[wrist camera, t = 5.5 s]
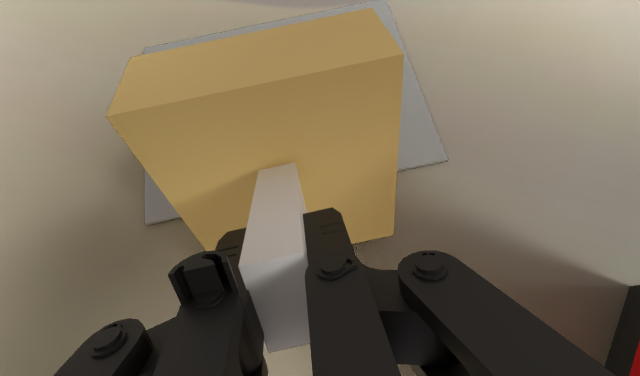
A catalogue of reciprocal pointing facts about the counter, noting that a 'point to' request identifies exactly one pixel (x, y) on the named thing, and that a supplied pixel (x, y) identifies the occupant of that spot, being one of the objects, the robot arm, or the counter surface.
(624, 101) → the counter surface
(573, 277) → the counter surface
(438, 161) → the mat
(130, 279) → the counter surface
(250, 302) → the robot arm
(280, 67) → the ochre box
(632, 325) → the cleaning product box
